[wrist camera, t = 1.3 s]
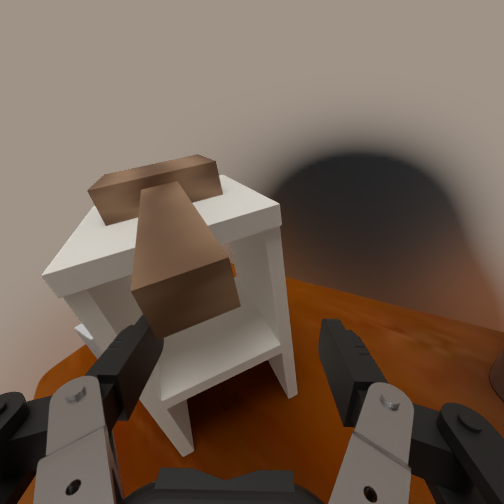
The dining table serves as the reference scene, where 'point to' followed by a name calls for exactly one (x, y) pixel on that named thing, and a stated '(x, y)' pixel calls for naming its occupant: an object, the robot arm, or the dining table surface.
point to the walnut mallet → (171, 241)
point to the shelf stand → (198, 336)
